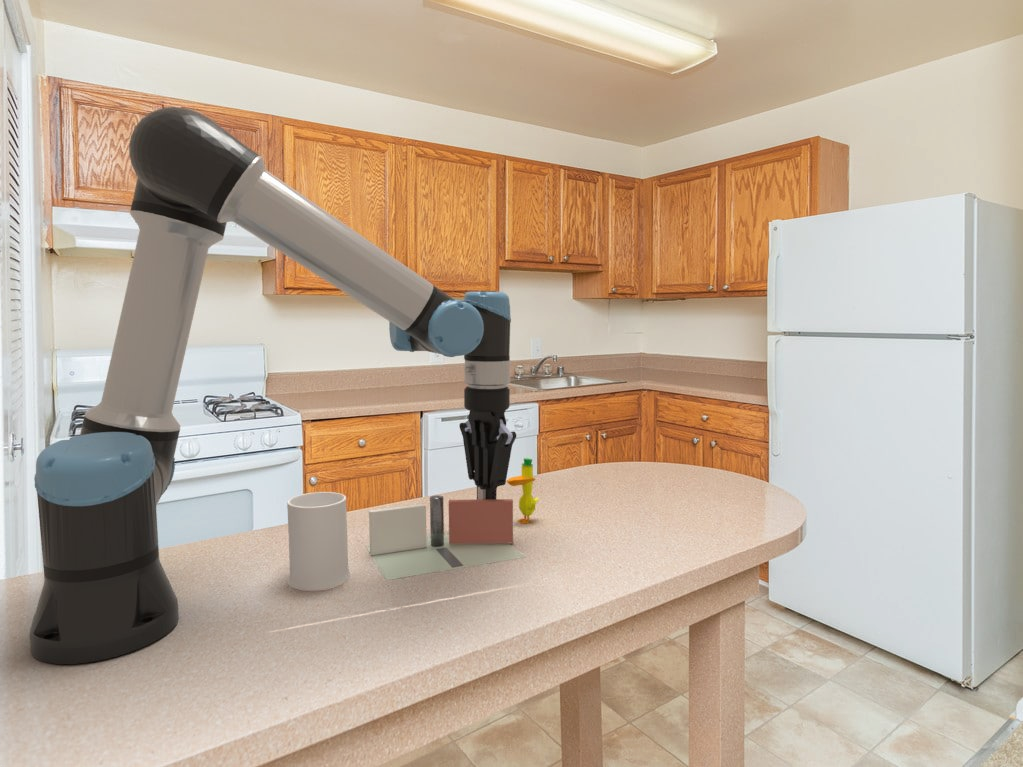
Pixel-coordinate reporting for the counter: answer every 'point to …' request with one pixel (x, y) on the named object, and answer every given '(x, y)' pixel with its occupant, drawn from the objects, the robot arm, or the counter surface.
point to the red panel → (481, 521)
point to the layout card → (442, 558)
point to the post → (437, 521)
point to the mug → (318, 541)
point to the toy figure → (525, 490)
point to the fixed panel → (397, 529)
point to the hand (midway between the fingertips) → (486, 523)
